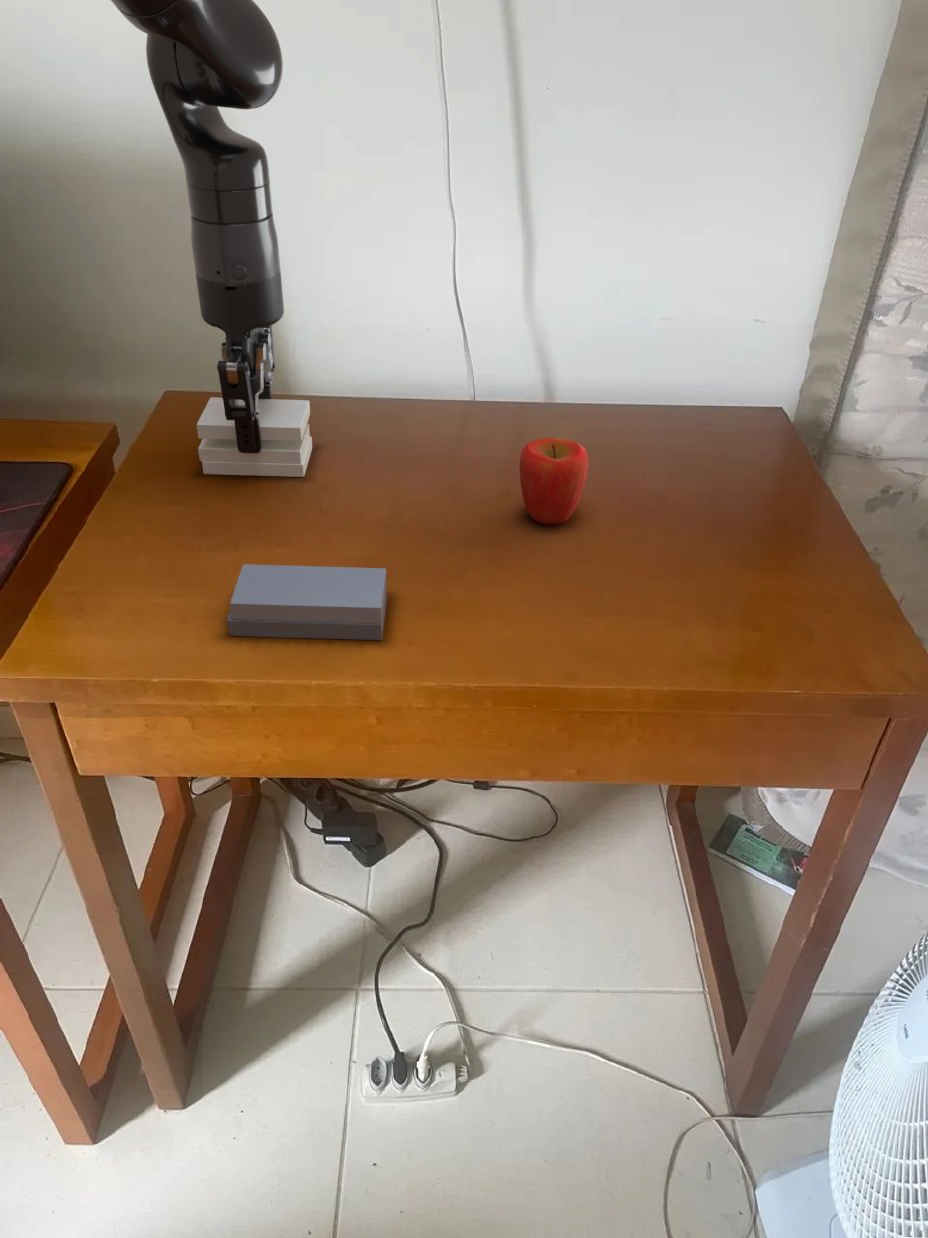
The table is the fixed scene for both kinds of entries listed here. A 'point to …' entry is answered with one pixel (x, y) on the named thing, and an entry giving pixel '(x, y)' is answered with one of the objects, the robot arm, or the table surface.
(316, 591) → the grey books
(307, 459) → the white books
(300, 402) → the white book
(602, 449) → the table surface
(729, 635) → the table surface
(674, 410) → the table surface
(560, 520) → the apple
